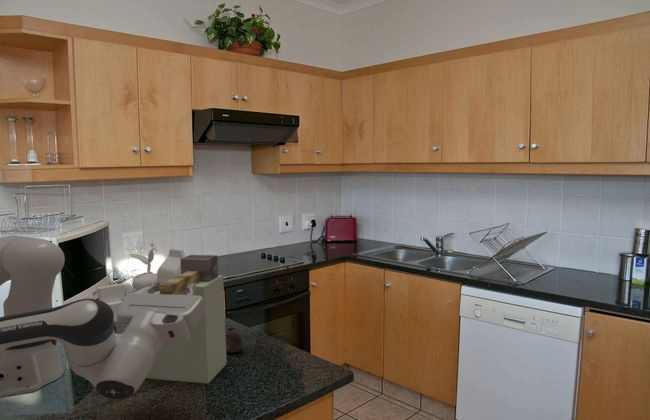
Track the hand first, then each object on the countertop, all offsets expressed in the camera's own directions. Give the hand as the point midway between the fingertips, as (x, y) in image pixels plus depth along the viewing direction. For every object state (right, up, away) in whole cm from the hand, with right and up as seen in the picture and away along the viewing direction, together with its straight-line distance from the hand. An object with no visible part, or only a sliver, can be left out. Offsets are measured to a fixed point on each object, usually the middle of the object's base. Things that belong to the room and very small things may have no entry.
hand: (175, 284), depth 116 cm
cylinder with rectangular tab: (-44, -22, +62) cm, 79 cm away
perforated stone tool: (+7, -25, +31) cm, 41 cm away
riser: (-4, -26, +15) cm, 31 cm away
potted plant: (-39, -20, +85) cm, 96 cm away
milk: (-17, -22, +60) cm, 66 cm away
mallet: (+1, -1, +6) cm, 6 cm away
